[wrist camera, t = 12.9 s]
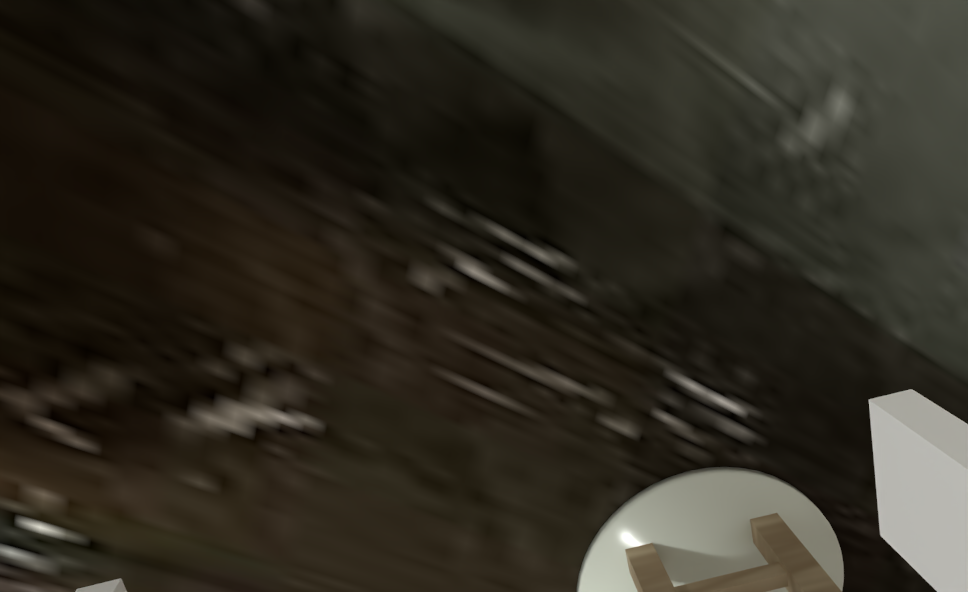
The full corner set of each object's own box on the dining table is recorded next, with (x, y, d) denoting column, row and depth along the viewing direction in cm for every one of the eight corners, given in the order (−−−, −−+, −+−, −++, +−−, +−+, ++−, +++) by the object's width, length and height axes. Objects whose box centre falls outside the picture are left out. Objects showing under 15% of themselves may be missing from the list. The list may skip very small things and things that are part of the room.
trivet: (601, 722, 48) (604, 732, 47) (552, 503, 43) (555, 511, 42) (847, 662, 48) (854, 671, 47) (824, 438, 43) (831, 444, 43)
